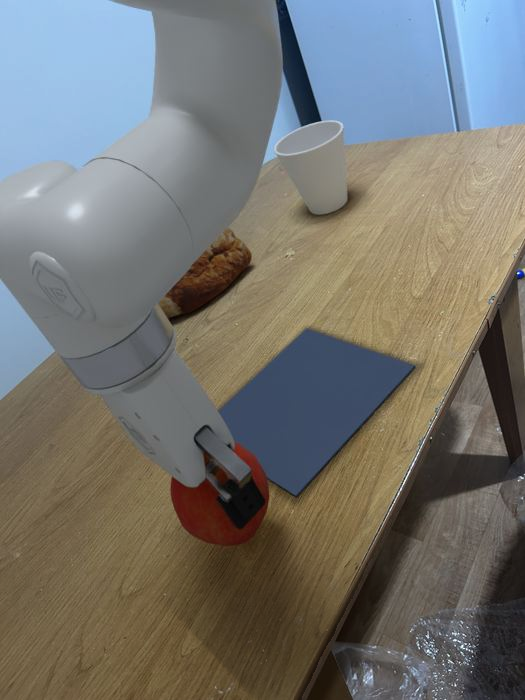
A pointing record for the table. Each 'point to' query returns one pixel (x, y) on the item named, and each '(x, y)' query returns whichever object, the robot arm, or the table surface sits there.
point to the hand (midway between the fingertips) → (218, 490)
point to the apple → (217, 506)
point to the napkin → (309, 405)
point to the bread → (208, 275)
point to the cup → (316, 164)
